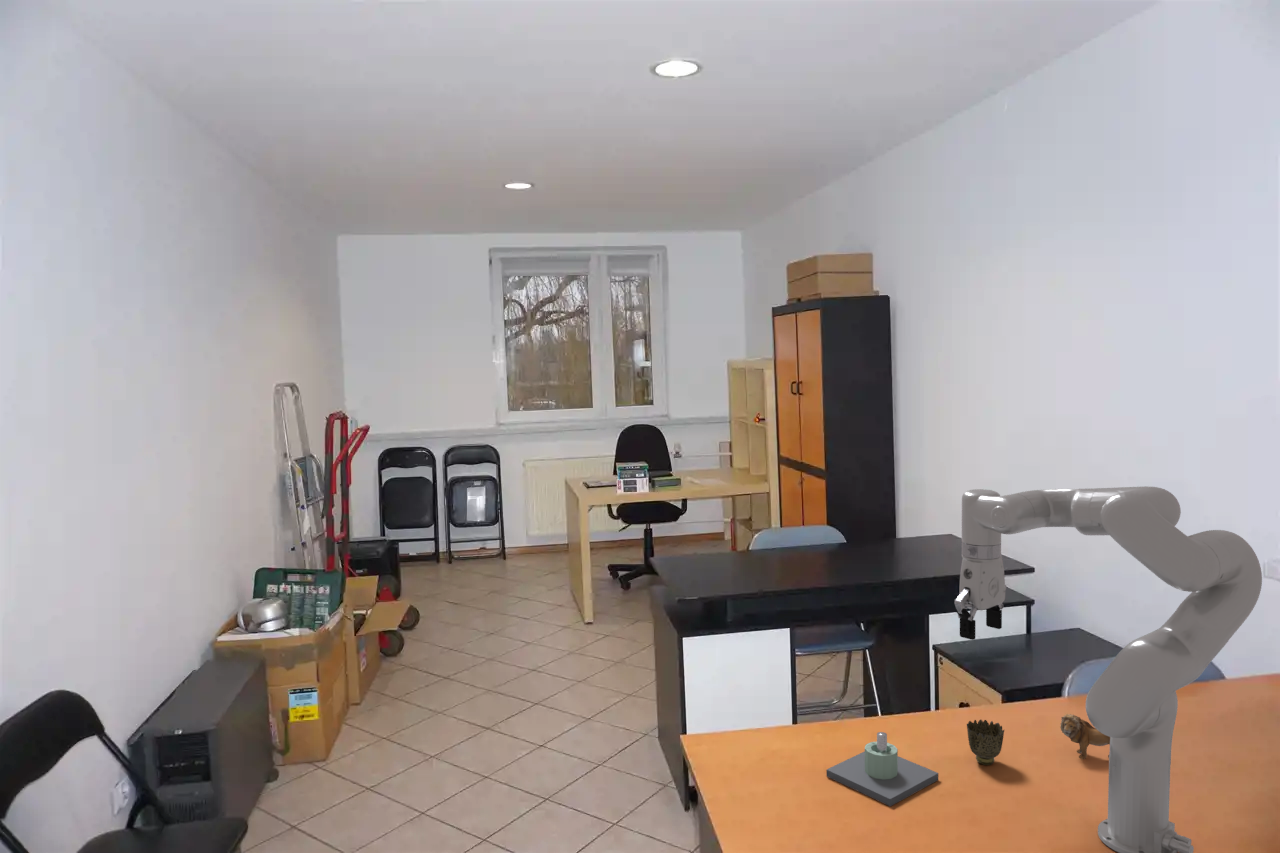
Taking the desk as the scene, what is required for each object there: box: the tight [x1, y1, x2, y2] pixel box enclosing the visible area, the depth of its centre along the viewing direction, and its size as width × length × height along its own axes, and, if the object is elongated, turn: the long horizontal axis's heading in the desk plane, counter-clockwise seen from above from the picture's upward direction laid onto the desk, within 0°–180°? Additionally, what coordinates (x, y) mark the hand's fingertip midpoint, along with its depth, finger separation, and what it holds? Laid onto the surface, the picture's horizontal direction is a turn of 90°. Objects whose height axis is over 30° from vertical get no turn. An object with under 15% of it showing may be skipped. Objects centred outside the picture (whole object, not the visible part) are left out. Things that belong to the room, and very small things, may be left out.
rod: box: [876, 731, 888, 753], centre depth 186 cm, size 2×2×8 cm
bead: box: [864, 741, 899, 779], centre depth 186 cm, size 6×6×5 cm
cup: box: [966, 719, 1005, 766], centre depth 192 cm, size 8×7×8 cm
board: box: [825, 750, 939, 807], centre depth 186 cm, size 16×16×2 cm
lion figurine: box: [1059, 713, 1110, 760], centre depth 192 cm, size 15×5×9 cm, turn 68°
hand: (980, 632), depth 184 cm, fingers open, 9 cm apart
